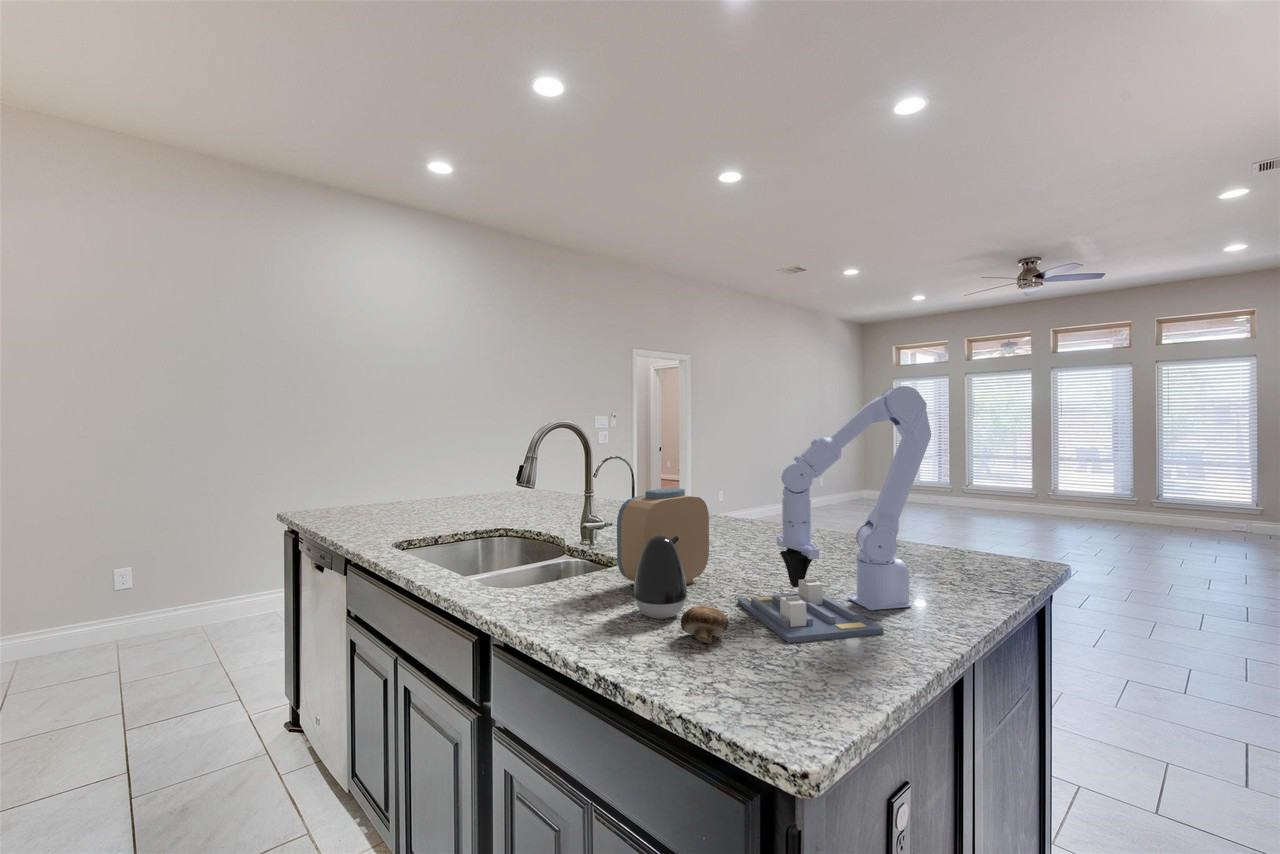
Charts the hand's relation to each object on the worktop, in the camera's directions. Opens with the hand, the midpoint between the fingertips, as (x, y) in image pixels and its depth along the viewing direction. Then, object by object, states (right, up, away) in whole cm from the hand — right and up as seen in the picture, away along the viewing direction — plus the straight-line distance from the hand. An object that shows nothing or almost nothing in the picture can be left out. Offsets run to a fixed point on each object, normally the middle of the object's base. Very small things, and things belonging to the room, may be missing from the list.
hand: (796, 586), depth 120 cm
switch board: (-2, -3, -11) cm, 12 cm away
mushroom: (-22, -3, -22) cm, 31 cm away
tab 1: (-5, -2, -17) cm, 18 cm away
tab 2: (+1, -2, -5) cm, 6 cm away
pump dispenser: (-29, -3, -9) cm, 30 cm away
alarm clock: (-27, -3, +12) cm, 30 cm away
